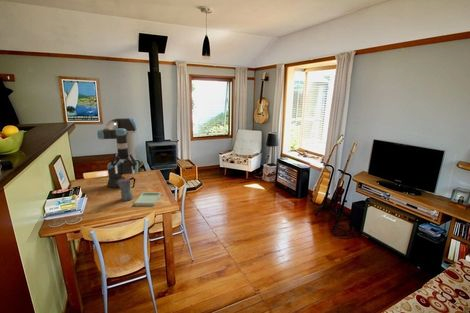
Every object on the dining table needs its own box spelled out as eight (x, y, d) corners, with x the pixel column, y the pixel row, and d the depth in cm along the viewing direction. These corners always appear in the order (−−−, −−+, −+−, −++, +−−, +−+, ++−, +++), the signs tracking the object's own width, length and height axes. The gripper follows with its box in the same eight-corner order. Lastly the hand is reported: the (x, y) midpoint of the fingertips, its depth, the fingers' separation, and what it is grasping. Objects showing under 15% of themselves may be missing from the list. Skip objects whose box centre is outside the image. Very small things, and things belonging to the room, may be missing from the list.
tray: (142, 194, 211) (142, 192, 210) (161, 194, 212) (161, 192, 211) (134, 205, 191) (133, 202, 190) (154, 205, 192) (154, 203, 191)
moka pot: (115, 199, 200) (113, 177, 195) (134, 194, 211) (132, 173, 206) (120, 203, 194) (117, 180, 189) (138, 198, 205) (137, 175, 199)
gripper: (104, 148, 187) (107, 174, 192) (136, 149, 188) (138, 175, 193) (108, 146, 194) (111, 171, 199) (140, 147, 195) (141, 172, 201)
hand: (124, 173), depth 196 cm, fingers open, 13 cm apart
